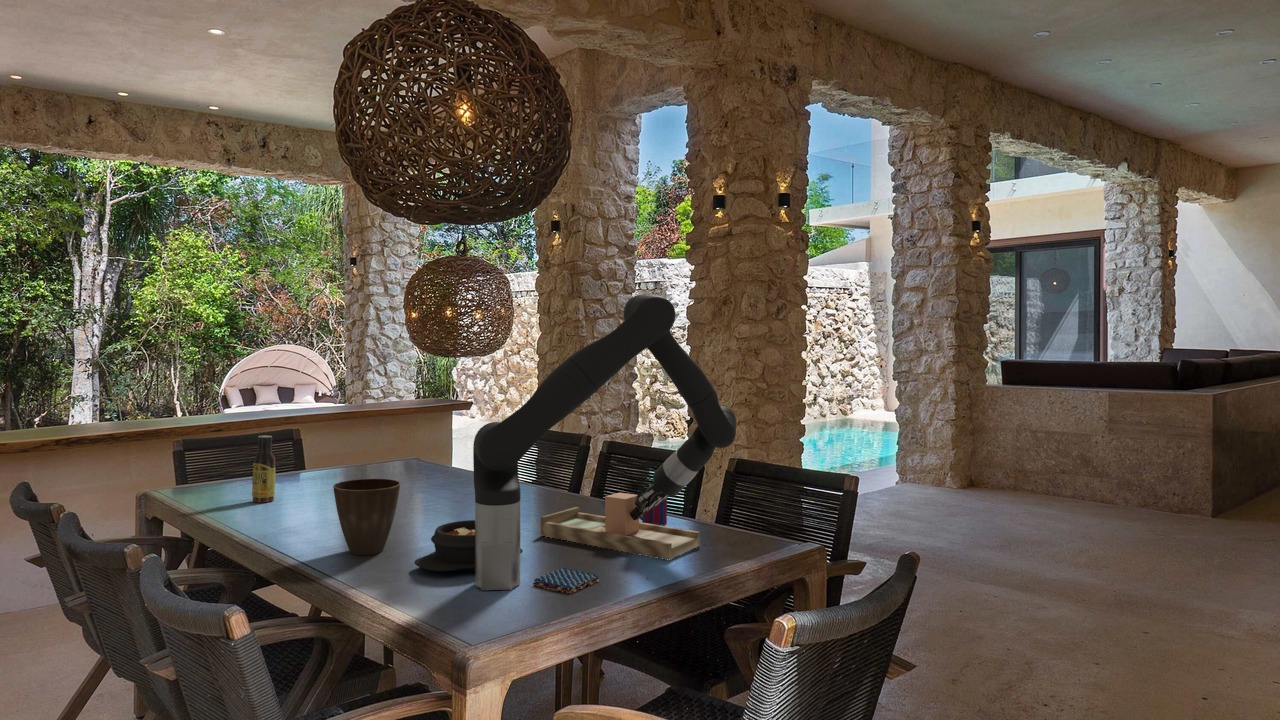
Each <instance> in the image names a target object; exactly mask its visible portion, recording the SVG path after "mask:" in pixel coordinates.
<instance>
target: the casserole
mask: <svg viewBox="0 0 1280 720" xmlns="http://www.w3.org/2000/svg"><path fill="white" fill-rule="evenodd" d="M430 541H431V543H433V544H434V550H435V551H433V552H431V553H429V554H426V555H425V556H422V557H419V558H416V559H415V560H414V564H415V565H416V566H417V567H419V568H421V569H422V570H423V569H424V570H426V571H432V572H440V573H441V572H442V573H443V572H450V571H451V572H452V571H456V570H457V572H458V571H459V572H473V571H474V570H475V519H474V520H459V521H452V522H448V523H444V524H442V525H439V526H437V527H436V528H435V530H434V533H433V535H432V536H431V538H430ZM523 551H524V550H523V549H522V548H521V547H520V555H521V554H522V553H523ZM474 572H475V571H474Z"/></svg>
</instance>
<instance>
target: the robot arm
mask: <svg viewBox="0 0 1280 720" xmlns="http://www.w3.org/2000/svg"><path fill="white" fill-rule="evenodd" d="M623 319H624V320H623V321H622V323H620V324H619V325H618V326H617V327H616V328H615V329H614V330H612V331H610V332H609V333H608V334H607V335H605V336H603V337H601V338H599V339H597V340H595V341H593V342H591V343H589V344H587V345H585V346H584V347H582V348H580V349H578V350H576V351H575V352H574V353H572V354H571V355H570V356H569V357H567V358H566V359H565V360H564V361H563V362H562V363H560V364H559V365H558V366H557V367H555V369H553V370H552V371H551V372H550V373H549V374H548V375H547V376H546V377H545V379H544V380H543V381H542V382H541V384H540V385H539V386H538V387H537V389H536V390H535V391H534V393H533V394H532V395H531V396H530V398H529V399H528V400H527V401H526V402H525V403H524V404H523V405H522V406H521V407H520V408H518V409H517V410H516V411H514V412H513V413H512V414H511V415H509V416H508V417H506V418H505V419H504V420H502V421H491V422H488V423H485V424H484V425H483V426H482V427H481V428H479V429H478V430H477V432H476V434H475V436H474V440H473V447H472V448H473V450H472V451H473V455H472V456H473V459H472V460H473V462H472V464H473V487H474V520H475V571H474V584H475V587H476V588H479V589H480V591H503V590H504V591H507V590H513V588H515V587H517V586H519V585H520V584H521V554H520V548H521V486H520V479H519V461H520V460H521V459H522V458H524V456H525V455H526V454H527V453H528V451H530V450H531V448H532V447H533V446H535V444H536V443H537V442H538V441H539V440H541V438H542V437H543V436H544V435H545V434H546V433H547V432H548V431H549V430H551V429H552V428H553V427H554V426H556V425H557V424H558V423H559V422H561V421H562V420H564V419H565V418H566V417H568V415H570V414H571V413H572V412H574V411H575V410H576V409H577V408H579V407H580V406H581V405H583V404H584V403H585V402H586V401H587V400H588V399H590V398H591V396H593V395H594V394H595V393H596V392H597V391H599V390H600V389H601V388H602V386H604V385H605V384H606V383H608V381H609V380H611V378H613V377H614V376H615V375H616V374H618V373H619V371H621V370H622V369H623V368H624V366H626V365H627V364H628V363H629V362H630V361H631V360H632V359H633V358H635V357H636V356H637V355H639V354H641V353H642V352H643V351H644V350H646V349H647V350H649V352H650V353H651V354H652V356H653V357H654V358H655V359H656V361H657V362H658V363H659V364H660V367H662V369H663V370H664V373H666V374H667V376H668V378H669V379H670V380H671V382H672V383H673V385H674V387H675V388H676V390H677V391H678V392H679V394H680V396H681V397H682V399H683V400H684V401H685V403H686V405H687V406H688V407H689V408H690V410H691V412H692V415H693V417H694V419H695V421H696V423H697V426H696V427H695V429H694V431H693V432H692V433H691V435H690V436H689V438H687V440H685V441H684V443H682V445H680V447H678V449H677V450H676V451H674V452H673V453H672V454H670V456H668V458H666V460H665V461H664V462H663V463H661V465H660V466H659V467H658V468H657V469H656V470H655V471H654V472H653V475H652V480H653V483H652V484H650V485H649V486H648V487H647V488H646V490H645V492H644V493H642V492H639V493H638V494H636V495H637V498H636V501H635V505H636V507H635V508H634V509H633V510H632V512H631V513H630V516H631V517H632V519H633V520H637V519H639V520H640V517H641V516H642V515H643V514H644V513H645V512H646V510H647V511H648V510H650V509H651V508H654V507H655V506H657V505H658V504H659V503H661V502H662V501H663V500H665V499H666V498H667V499H668V498H669V497H676V496H677V495H678V494H680V492H682V491H683V489H684V488H685V487H686V486H687V485H688V484H689V483H691V481H692V480H693V479H694V478H695V477H696V475H697V474H698V473H699V471H701V469H702V468H703V467H705V465H706V464H707V463H708V462H709V461H710V460H711V459H712V457H713V454H714V452H715V449H716V448H717V449H726V448H728V447H730V445H732V444H733V442H734V441H735V439H736V433H737V417H736V415H735V412H734V411H733V410H732V409H731V408H729V407H728V406H723V405H722V406H721V404H720V402H719V396H718V393H717V391H716V389H715V388H714V386H713V385H712V383H711V382H710V380H709V378H708V377H707V376H706V374H705V372H704V371H703V369H702V368H701V367H700V366H699V365H698V363H697V362H695V360H694V359H693V358H692V357H691V356H690V355H689V353H687V352H686V350H684V348H683V347H682V346H681V345H680V344H679V342H678V341H677V339H676V338H675V337H674V336H673V334H672V332H671V330H672V328H673V325H674V323H675V321H676V310H675V306H674V304H673V302H671V301H670V300H669V299H668V298H665V297H664V296H660V295H656V294H645V293H642V294H635V295H634V296H632V297H631V298H629V299H628V301H627V302H626V303H625V306H624V309H623Z"/></svg>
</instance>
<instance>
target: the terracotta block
mask: <svg viewBox="0 0 1280 720" xmlns="http://www.w3.org/2000/svg"><path fill="white" fill-rule="evenodd" d="M637 495H638V494H632V493H624V492H617V493H613V494H609V495H606V496H604V498H605V501H604V503H605V504H604V515H605V532H609V533H615V534H621V535H629V534H632V533H635V532H638V531H639V522H640V518H639V519H637V520H633V519H632V517H631V516H630V513H631V512H632V510H633V509H634V508H635V507H636V505H635V501H636V498H637Z"/></svg>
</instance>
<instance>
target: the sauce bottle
mask: <svg viewBox="0 0 1280 720" xmlns="http://www.w3.org/2000/svg"><path fill="white" fill-rule="evenodd" d="M257 442H258V444H257V451H256V454H255V458H254V459H253V463H252V479H251V481H252V484H251V485H252V487H251V488H252V489H251V490H252V491H251V493H252V494H251V496H252V502H253V503H259V504H264V503H265V504H266V503H269V502H273V501H274V500H275V495H276V493H275V492H276V489H275V488H276V456H275V455H274V454H273V451H272V450H273V448H272V445H273V444H272V443H273V436H272V435H259V436H257Z"/></svg>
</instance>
